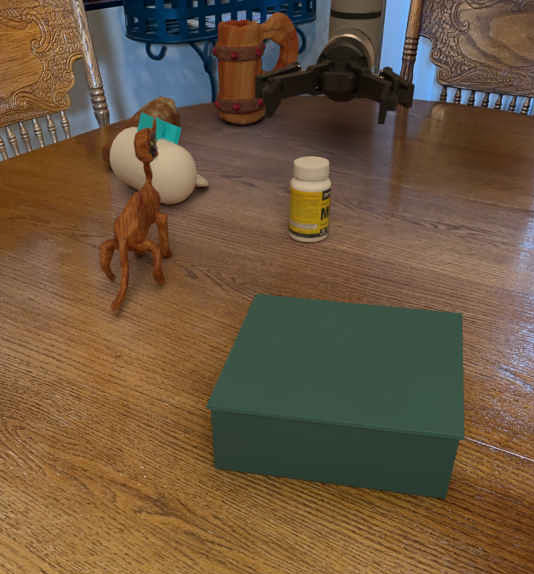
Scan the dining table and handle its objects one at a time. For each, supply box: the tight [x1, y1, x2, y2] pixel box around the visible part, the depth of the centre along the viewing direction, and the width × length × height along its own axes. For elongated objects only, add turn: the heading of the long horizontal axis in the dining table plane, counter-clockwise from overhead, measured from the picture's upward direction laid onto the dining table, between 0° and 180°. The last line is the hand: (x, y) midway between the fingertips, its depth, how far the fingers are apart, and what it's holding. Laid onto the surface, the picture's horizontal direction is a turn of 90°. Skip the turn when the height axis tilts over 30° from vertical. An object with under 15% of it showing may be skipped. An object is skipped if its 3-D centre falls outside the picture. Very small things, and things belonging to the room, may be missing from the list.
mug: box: [211, 11, 300, 126], centre depth 113 cm, size 15×8×15 cm, turn 112°
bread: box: [101, 96, 181, 168], centre depth 104 cm, size 6×19×6 cm, turn 161°
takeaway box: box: [205, 293, 465, 500], centre depth 55 cm, size 18×16×6 cm
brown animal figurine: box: [98, 118, 174, 312], centre depth 70 cm, size 18×7×14 cm, turn 172°
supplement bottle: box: [288, 155, 332, 243], centre depth 81 cm, size 5×5×8 cm
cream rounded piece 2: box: [110, 112, 209, 205], centre depth 91 cm, size 12×9×12 cm
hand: (324, 108), depth 83 cm, fingers open, 13 cm apart
